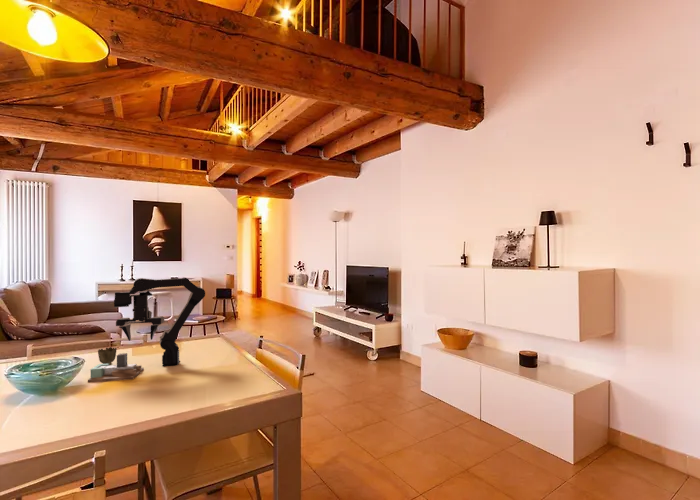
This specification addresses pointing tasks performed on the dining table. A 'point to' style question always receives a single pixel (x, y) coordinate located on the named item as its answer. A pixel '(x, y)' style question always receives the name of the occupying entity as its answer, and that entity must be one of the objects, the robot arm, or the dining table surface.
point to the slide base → (119, 375)
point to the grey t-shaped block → (118, 365)
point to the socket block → (97, 371)
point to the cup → (107, 355)
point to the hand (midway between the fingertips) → (140, 340)
